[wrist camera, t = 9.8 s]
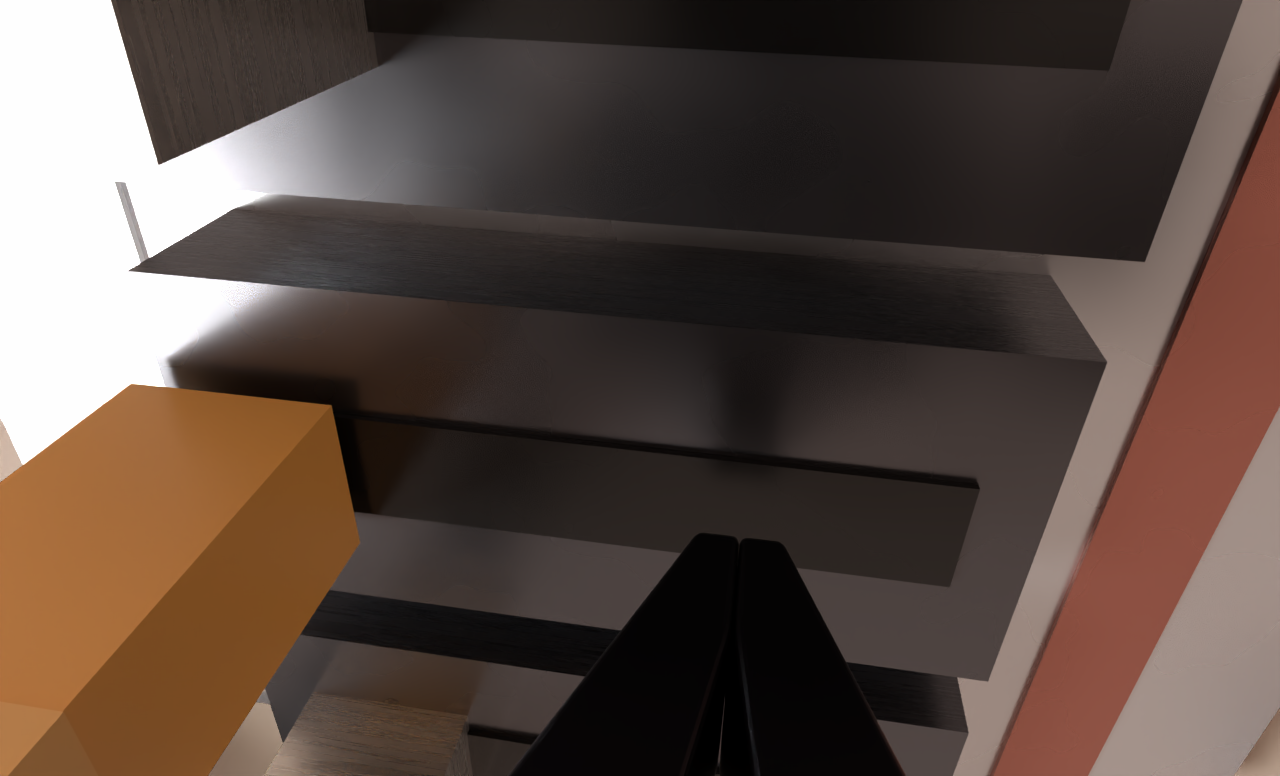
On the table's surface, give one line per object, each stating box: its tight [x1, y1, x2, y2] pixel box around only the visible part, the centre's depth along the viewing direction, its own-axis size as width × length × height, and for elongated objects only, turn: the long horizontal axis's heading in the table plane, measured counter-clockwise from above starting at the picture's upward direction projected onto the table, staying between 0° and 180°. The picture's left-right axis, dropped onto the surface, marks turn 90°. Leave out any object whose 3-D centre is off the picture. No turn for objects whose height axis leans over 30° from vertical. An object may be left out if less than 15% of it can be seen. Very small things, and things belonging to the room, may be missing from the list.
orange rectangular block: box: [0, 383, 360, 776], centre depth 8 cm, size 2×3×5 cm
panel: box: [0, 0, 1280, 776], centre depth 10 cm, size 16×20×6 cm
